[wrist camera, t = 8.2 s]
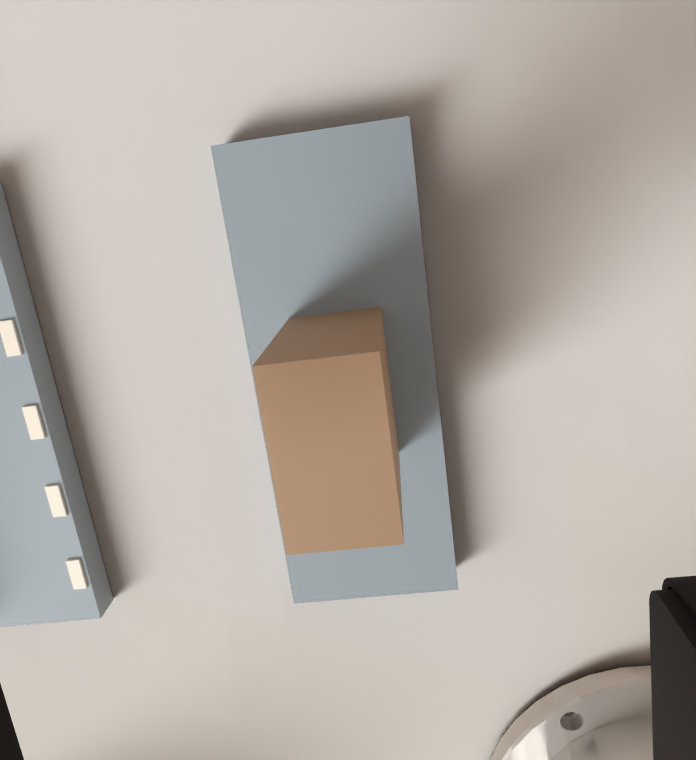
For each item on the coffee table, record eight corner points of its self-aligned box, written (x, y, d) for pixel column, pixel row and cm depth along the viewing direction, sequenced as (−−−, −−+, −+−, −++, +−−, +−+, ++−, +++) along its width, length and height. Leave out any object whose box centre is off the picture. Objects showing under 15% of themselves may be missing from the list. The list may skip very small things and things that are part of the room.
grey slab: (408, 119, 20) (419, 82, 13) (455, 570, 24) (481, 719, 18) (220, 148, 21) (137, 126, 14) (298, 584, 25) (265, 733, 18)
